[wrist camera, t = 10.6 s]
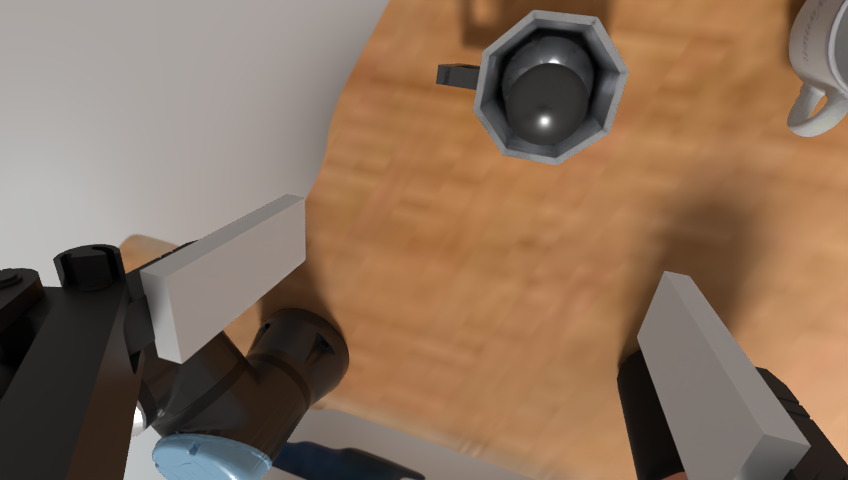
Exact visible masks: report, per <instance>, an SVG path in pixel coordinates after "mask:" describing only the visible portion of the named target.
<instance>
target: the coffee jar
mask: <svg viewBox="0 0 848 480" xmlns="http://www.w3.org/2000/svg"><path fill="white" fill-rule="evenodd" d="M617 383H618V390H619V395H620V400H621V404H622V409H623V414H624V418H625V423H626V428H627V432H628V437H629V441H630V446H631V451H632V455H633V460H634V465H635V469H636V474H637V478H638V480H688V478H687V475H686V472H685V469H684V467H683V464H682V461H681V458H680V456H679V453H678V450H677V447H676V445H675V442H674V439H673V436H672V433H671V431H670V428H669V425H668V422H667V420H666V417H665V414H664V411H663V409H662V406H661V403H660V400H659V397H658V395H657V392H656V389H655V386H654V384H653V381H652V378H651V375H650V372H649V370H648V367H647V364H646V361H645V359H644V356H643V353H642V350H639V351H637V352H636V353H634V354H632V355H631V356H630V357H629V358H628V359H627V360H626V361H625V362H624V364H623V365H622V366H621V368H620V371H619V374H618V377H617Z"/></svg>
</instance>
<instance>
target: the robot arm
mask: <svg viewBox="0 0 848 480" xmlns="http://www.w3.org/2000/svg"><path fill="white" fill-rule="evenodd" d="M305 260H306V243H305V198H303V197H298V196H293V195H288V194H287V195H285V196H283V197H281V198H279V199H277V200H275V201H273V202H271V203H269V204H267V205H266V206H263V207H262V208H260V209H258V210H256V211H254V212H252V213H250V214H248V215H246V216H244V217H242V218H240V219H238V220H237V221H235V222H233V223H231V224H229V225H227V226H225V227H223V228H221V229H219V230H217V231H215V232H213V233H211V234H209V235H208V236H206V237H204V238H202V239H200V240H196V241H192V242H189V243H186V244H184V245H182V246H180V247H178V248H176V249H174V250H173V251H172V252H168V253H166V254H164V255H162V256H161V258H160V257H158V258H156V259H154V260H152V261H150V262H148V263H146V264H144V265H142V266H141V267H139V268H137V269H135V270H133V271H131V272H129V273H127V274H125V270H124V266H123V262H122V257H121V253H120V249H119V248H117V247H115V246H112V245H106V244H96V245H95V244H94V245H86V246H80V247H76V248H73V249H69V250H67V251H64V252H62V253H60V254H58V255H57V256H56V257H55V258H54V259H53V261H54V264H55V267H56V270H57V273H58V276H59V280H60V282H61V286H62V287H43V286H42V283H41V280H40V277H39V274H38V272H37V271H35V270H32V269H25V268H17V269H11V268H9V269H3V270H2V271H1V270H0V480H123V478H124V472H125V467H126V461H127V456H128V450H129V445H130V440H131V437H134V436H138V435H139V434H141V433H142V432H143V431H144V430H145V429H146V428H148V427H149V426H150V425H151V426H152V427H153V428H154V429H155V430H156V431H157V433H159V435H160V436H161V437H162V438H161V439H160V440H159V441H158V442H157V443H156V446H155V448H154V450H153V453H152V459H153V461H154V462H155V466H156V468H157V469H158V471H159V472H160V473H161V474H162V475H163V476H164V477H165V478H166V479H168V480H260V479H261V477H262V476H263V475H264V474H265V472H267V471H268V470H269V468H270V467H271V466H272V462H273V461H274V459H275V458H276V456H277V455H278V453H279V452H280V450H281V449H282V447H283V446H284V444H285V443H286V441H287V440H288V438H289V437H290V435H291V434H292V432H293V431H294V429H295V428H296V426H297V425H298V423H299V422H300V420H301V419H302V417H303V416H304V414H305V413H306V411H307V410H308V409H309V407H310V406H312V405H313V404H314V403H316V402H317V401H319V400H320V399H321V398H323V397H324V396H325V395H326V394H328V393H329V392H331V391H332V390H333V389H335V388H336V387H337V385H338V384H339V383H340V381H341V380H342V378H343V377H344V375H345V374H346V372H347V369H348V365H349V356H348V351H347V348H346V346H345V343H344V341H343V340H342V338H341V336H340V335H339V334H338V332H337V331H336V330H335V329H334V328H333V327H332V326H331V325H330V324H329V323H328V322H326V321H325V320H324V319H322V318H320V317H319V316H317V315H315V314H313V313H311V312H308V311H305V310H300V309H284V310H280V311H278V312H276V313H274V314H273V315H272V316H271V317H270V318H268V319H267V320H266V321H265V322H264V323H263V324H262V326H261V327H260V328H259V330H258V332H257V334H256V336H255V338H254V341H253V343H252V345H251V347H250V349H249V351H248V353H247V355H246V357H244V356H243V355H242V353H241V352H240V351H239V349H238V348H237V347H236V346H235V344H234V343H233V342H232V341H231V339H230V338H229V337H228V336H227V335H226V333H225V332H224V331H223V329H224V328H225V327H227V326H228V325H229V324H230V323H231V322H232V321H234V320H235V319H236V318H237V317H238V316H240V315H241V314H242V313H243V312H244V311H246V310H247V309H248V308H249V307H250V306H252V305H253V304H254V303H255V302H256V301H257V300H259V299H260V298H261V297H262V296H263V295H265V294H266V293H267V292H268V291H269V290H271V289H272V288H273V287H274V286H275V285H276V284H278V283H279V282H280V281H281V280H282V279H284V278H285V277H286V276H287V275H288V274H290V273H291V272H292V271H293V270H294V269H295V268H297V267H298V266H299V265H300V264H301V263H303V262H304V261H305ZM637 339H638V342H639V345H640V348H641V350H642V353H643V356H644V359H645V361H646V364H647V367H648V370H649V372H650V375H651V378H652V381H653V384H654V386H655V389H656V392H657V395H658V397H659V400H660V403H661V406H662V409H663V411H664V414H665V417H666V420H667V422H668V425H669V428H670V431H671V433H672V436H673V439H674V442H675V445H676V447H677V450H678V453H679V456H680V458H681V461H682V464H683V467H684V469H685V472H686V475H687V478H688V480H848V465H847V463H846V462H845V461H844V460H843V458H842V457H841V456H840V454H839V453H838V452H837V450H836V449H835V448H834V447H833V445H832V444H831V443H830V441H829V440H828V439H827V438H826V436H825V435H824V434H823V432H822V431H821V430H820V428H819V427H818V426H817V425H816V423H815V422H814V421H813V420H811V419H810V415H809V414H808V413H807V412H806V410H805V409H804V408H803V406H801V405H799V401H798V400H797V399H796V397H795V396H794V395H793V393H792V392H791V391H790V390H789V388H788V387H787V386H786V385H785V384H784V383H783V382H781V381H780V380H779V379H778V378H777V377H775V376H774V375H773V374H772V373H770V372H769V371H768V370H767V369H763V368H759V367H755V366H754V365H753V364H752V363H751V361H750V360H749V358H748V357H747V356H746V354H745V353H744V351H743V350H742V349H741V347H740V346H739V344H738V343H737V342H736V340H735V339H734V337H733V336H732V335H731V333H730V332H729V330H728V329H727V328H726V326H725V325H724V323H723V322H722V321H721V319H720V318H719V316H718V315H717V314H716V312H715V311H714V309H713V308H712V307H711V305H710V304H709V302H708V301H707V300H706V298H705V297H704V295H703V294H702V293H701V291H700V290H699V288H698V287H697V286H696V284H695V283H694V281H693V280H692V279H691V277H690V276H688V275H683V274H678V273H673V272H668V271H664V273H663V275H662V278H661V280H660V283H659V285H658V287H657V290H656V292H655V295H654V297H653V299H652V302H651V304H650V307H649V309H648V311H647V314H646V316H645V319H644V321H643V323H642V326H641V328H640V331H639V333H638V335H637Z"/></svg>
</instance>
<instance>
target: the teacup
mask: <svg viewBox="0 0 848 480" xmlns="http://www.w3.org/2000/svg"><path fill="white" fill-rule="evenodd" d="M789 59H790V62H791V65H792V68H793V70H794V71H795V73H796V74H797V76H798V77H799V78H800V79H801V80H802V81H803V82H804V83H803V86H802V87H801V90H800V95H799V96H798V98H797V100H796V102H795V104H794V105H793V107H792V109H791V111H790V113H789V116H788V119H787V125H788V127H789V129H790V130H791V131H792V132H793V133H795V134H797V135H800V136H803V137H812V136H816V135H819V134H822V133H824V132H826V131H828V130H829V129H831V128H832V127H834V126H835V125H836V124H837V123H838V122H839V121H840V120H841V119H842V118H843V117H844V116H845V115H846V113H847V112H848V0H807V1H806V2H805V3H804V5H803V6H802V8H801V10H800V11H799V13H798V15H797V17H796V19H795V21H794V23H793V26H792V29H791V33H790V38H789ZM824 95H826V96H827V97H828V100H827V103H826V104H825V106H824V107H823V108H822V109H821V110H820V111H819V112H818V113H817V114H816V115H815V116H813V117H812V118H810V115H811V113H812V111H813V109H814V108H815V106H816V105H817V103H818V101H819V100H820V99H821V97H822V96H824ZM809 118H810V119H809Z"/></svg>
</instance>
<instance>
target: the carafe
mask: <svg viewBox="0 0 848 480" xmlns="http://www.w3.org/2000/svg"><path fill="white" fill-rule="evenodd" d="M551 36H553V37H561V38H565V39H568V40H570V41H572V42H574V43H575V44H577V45H578V46H579V47H580V48H581V49H582V50H583V51H584V52H585V54H586V55H587V57H588V59H589V61H590V64H591V67H592V73H593V82H592V88H591V92H590V95H589V98H588V106H587V111H586V114H585V117H584V119H583V121H582V123H581V124H580V126H579V127H578V129H577V130H576V131H575V132H574V133H573V134H572V135H571V136H569V137H568V138H566V139H565V140H563V141H561V142H558V143H555V144H551V145H535V144H531V143H529V142H526V141H525V140H523V139H521V138H520V137H519V136H518V135H517V134H516V133H515V132H514V131H513V129H512V128H511V126H510V124H509V121H508V118H507V113H506V103H505V101H504V97H503V78H504V74H505V71H506V68H507V66H508V64H509V62H510V61H511V59H512V58H513V56H514V55H515V54H516V53H517V52H518V51H519V50H520V49H521V48H522V47H524V46H525V45H526V44H528V43H530V42H532V41H534V40H536V39H539V38H543V37H551ZM628 74H629V70H628V68H627V67H626V65H625V63H624V61H623V60H622V58H621V56H620V55H619V53H618V51H617V49H616V48H615V46H614V44H613V42H612V41H611V39H610V37H609V36H608V34H607V32H606V30H605V29H604V27H603V25H602V23H601V22H600V20H599V18H598V17H594V16H586V15H577V14H568V13H560V12H551V11H542V10H533V11H531V12H530V13H529V14H528V15H527V16H525V17H524V18H523V19H522V20H521V21H519V22H518V23H517V24H516V25H514V26H513V27H512V28H511V29H510V30H508V31H507V32H506V33H505V34H503V35H502V36H501V37H500V38H499V39H497V40H496V41H495V42H494V43H492V44H491V45H490V46H489V47H488V48H486V49H485V50H484V52H483V54H482V60H481V66H474V65H467V64H461V63H459V64H441V65H438V72H437V80H436V84H442V85H448V86H455V87H461V88H467V89H474V90H476V96H475V101H474V107H473V110H474V113H475V114H476V116H477V117H478V119H479V120H480V122H481V123H482V125H483V126H484V128H485V129H486V131H487V132H488V134H489V135H490V137H491V138H492V140H493V141H494V143H495V144H496V146H497V147H498V149H499V150H500V152H501V153H502V155H504V156H509V157H515V158H520V159H525V160H531V161H536V162H542V163H547V164H552V165H558V164H560V163H562V162H563V161H565V160H567V159H568V158H570V157H571V156H573V155H575V154H576V153H578V152H580V151H581V150H583V149H585V148H586V147H588V146H590V145H591V144H593V143H594V142H596V141H598V140H599V139H601V138H603V137H604V136H606V135H608V134H609V133H610V130H611V127H612V124H613V121H614V117H615V114H616V111H617V108H618V105H619V102H620V99H621V96H622V93H623V89H624V86H625V83H626V80H627V77H628Z"/></svg>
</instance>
